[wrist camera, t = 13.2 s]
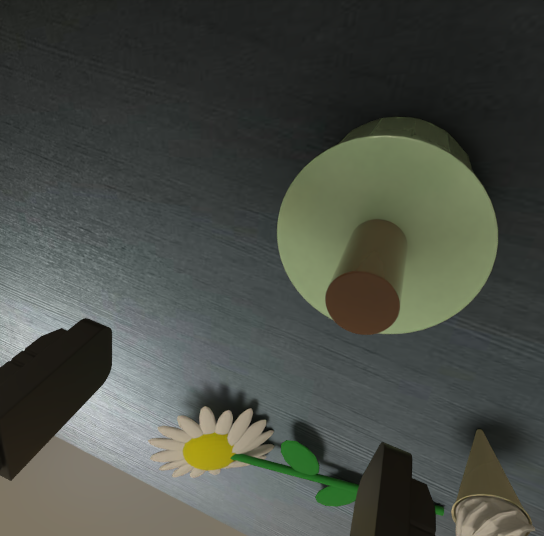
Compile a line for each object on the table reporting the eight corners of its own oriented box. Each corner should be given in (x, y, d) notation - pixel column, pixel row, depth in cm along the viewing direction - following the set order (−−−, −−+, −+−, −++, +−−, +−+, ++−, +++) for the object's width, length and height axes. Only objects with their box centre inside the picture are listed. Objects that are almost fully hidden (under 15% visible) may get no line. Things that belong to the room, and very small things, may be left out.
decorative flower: (460, 447, 40) (166, 374, 43) (470, 496, 36) (145, 412, 39) (419, 514, 47) (168, 446, 50) (423, 561, 43) (150, 484, 46)
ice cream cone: (524, 444, 35) (576, 665, 23) (467, 457, 38) (484, 662, 25) (493, 401, 34) (529, 606, 22) (436, 418, 37) (438, 609, 24)
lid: (246, 224, 25) (188, 280, 19) (394, 78, 19) (376, 93, 13) (370, 352, 27) (351, 441, 20) (545, 252, 20) (592, 337, 14)
